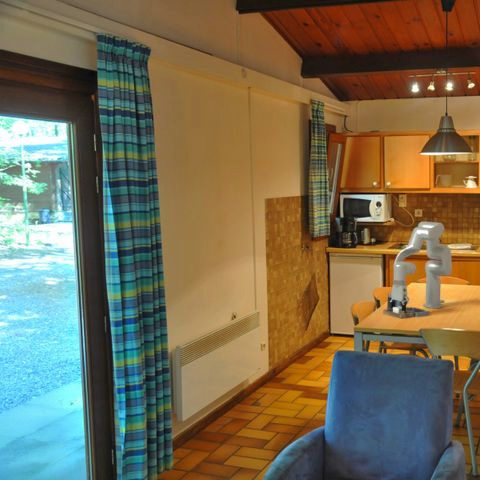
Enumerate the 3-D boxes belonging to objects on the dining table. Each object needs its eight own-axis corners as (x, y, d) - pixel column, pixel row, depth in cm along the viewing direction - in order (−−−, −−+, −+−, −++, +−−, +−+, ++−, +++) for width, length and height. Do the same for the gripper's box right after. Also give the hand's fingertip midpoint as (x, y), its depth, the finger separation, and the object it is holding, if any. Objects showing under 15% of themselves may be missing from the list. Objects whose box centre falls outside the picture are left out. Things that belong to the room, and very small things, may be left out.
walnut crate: (395, 312, 459) (395, 308, 458) (413, 317, 445) (414, 312, 445) (383, 314, 453) (383, 310, 452) (401, 319, 439) (401, 314, 439)
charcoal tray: (411, 311, 463) (411, 307, 462) (429, 315, 450) (429, 311, 450) (399, 313, 457) (399, 308, 457) (416, 317, 444) (416, 312, 444)
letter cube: (398, 314, 452) (398, 306, 452) (404, 315, 448) (404, 307, 447) (392, 315, 450) (393, 307, 449) (398, 316, 445) (398, 308, 445)
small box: (390, 311, 463) (391, 295, 462) (386, 309, 469) (387, 293, 468) (405, 310, 465) (406, 295, 464) (401, 308, 471) (402, 293, 470)
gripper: (413, 284, 441) (412, 311, 443) (393, 280, 456) (392, 306, 457) (405, 285, 437) (404, 312, 439) (385, 281, 452) (384, 307, 453)
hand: (398, 309), depth 448 cm, fingers open, 9 cm apart
